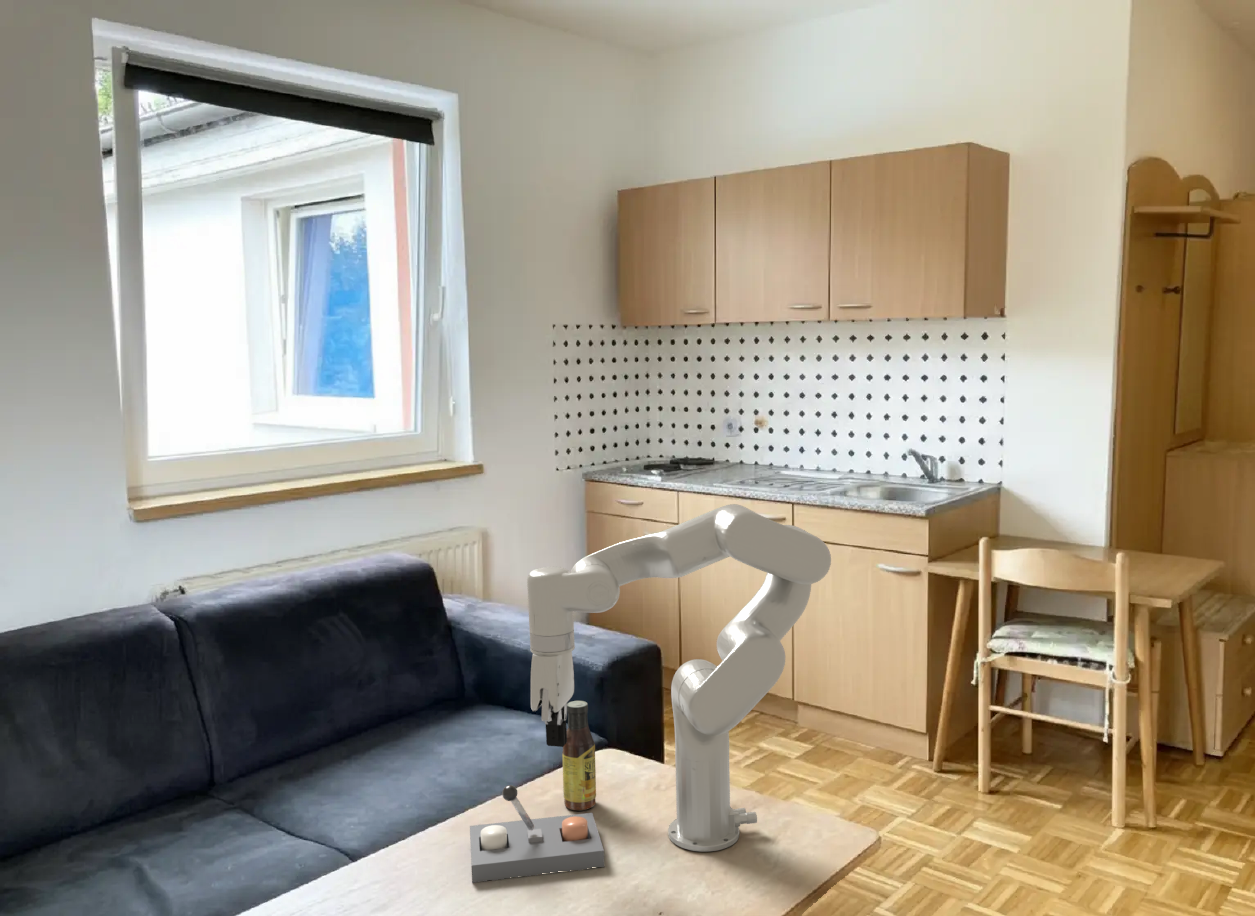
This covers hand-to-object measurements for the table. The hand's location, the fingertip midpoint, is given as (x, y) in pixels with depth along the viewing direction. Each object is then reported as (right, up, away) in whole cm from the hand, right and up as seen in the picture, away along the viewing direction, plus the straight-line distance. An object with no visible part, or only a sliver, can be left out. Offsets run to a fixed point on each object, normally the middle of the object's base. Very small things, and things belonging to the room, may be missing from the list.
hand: (556, 744), depth 172 cm
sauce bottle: (+3, -17, +20) cm, 27 cm away
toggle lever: (-4, -16, +1) cm, 16 cm away
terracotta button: (+3, -18, +2) cm, 18 cm away
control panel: (-4, -19, +1) cm, 20 cm away
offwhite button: (-11, -18, 0) cm, 21 cm away
